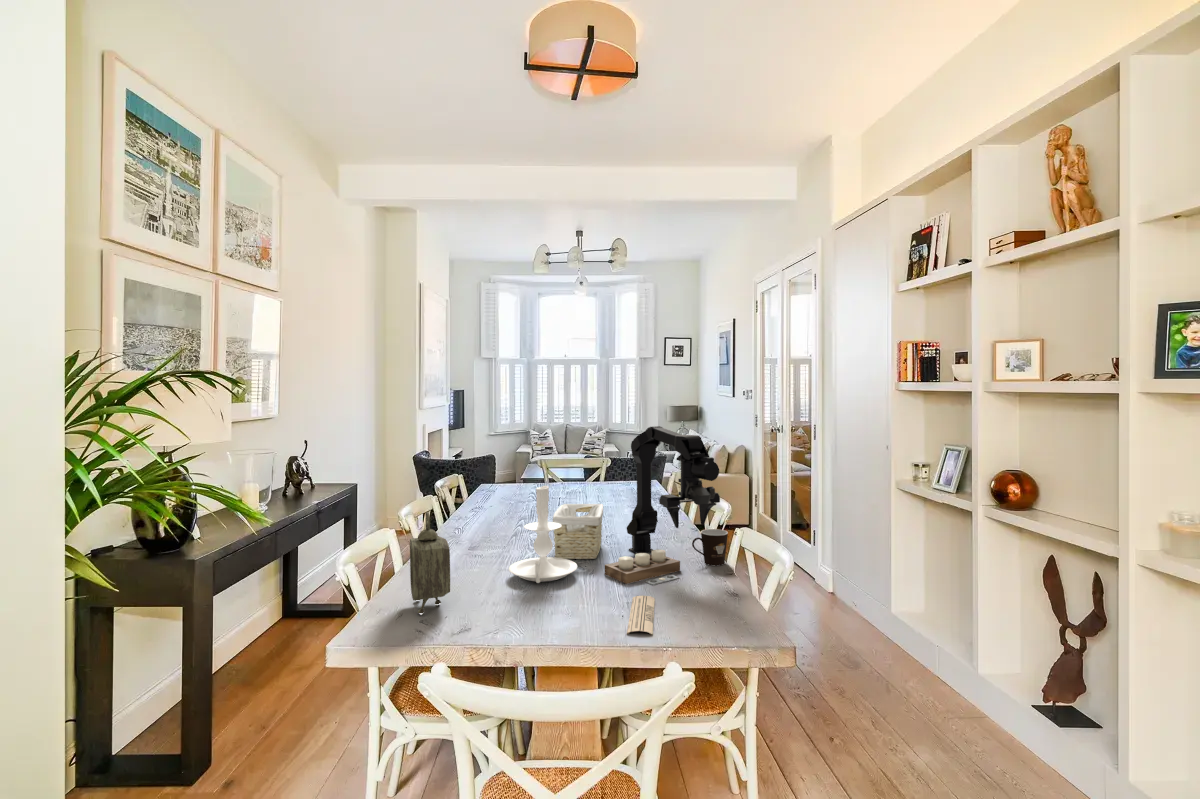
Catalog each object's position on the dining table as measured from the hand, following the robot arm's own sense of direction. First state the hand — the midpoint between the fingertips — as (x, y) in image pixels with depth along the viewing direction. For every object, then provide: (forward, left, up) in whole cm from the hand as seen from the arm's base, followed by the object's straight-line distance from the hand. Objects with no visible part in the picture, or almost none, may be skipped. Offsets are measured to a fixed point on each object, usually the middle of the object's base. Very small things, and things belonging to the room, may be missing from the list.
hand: (689, 526), depth 187 cm
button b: (-8, -13, -12) cm, 19 cm away
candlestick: (-21, -41, -14) cm, 48 cm away
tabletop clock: (-19, -76, -14) cm, 79 cm away
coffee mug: (-3, +11, -14) cm, 18 cm away
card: (+1, -13, -14) cm, 19 cm away
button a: (-8, -19, -12) cm, 24 cm away
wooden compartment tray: (-8, -13, -14) cm, 20 cm away
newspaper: (+19, -35, -15) cm, 42 cm away
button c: (-8, -6, -12) cm, 15 cm away
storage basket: (-40, -15, -14) cm, 45 cm away
